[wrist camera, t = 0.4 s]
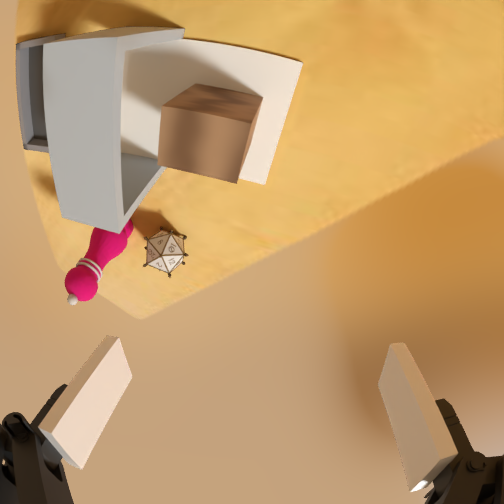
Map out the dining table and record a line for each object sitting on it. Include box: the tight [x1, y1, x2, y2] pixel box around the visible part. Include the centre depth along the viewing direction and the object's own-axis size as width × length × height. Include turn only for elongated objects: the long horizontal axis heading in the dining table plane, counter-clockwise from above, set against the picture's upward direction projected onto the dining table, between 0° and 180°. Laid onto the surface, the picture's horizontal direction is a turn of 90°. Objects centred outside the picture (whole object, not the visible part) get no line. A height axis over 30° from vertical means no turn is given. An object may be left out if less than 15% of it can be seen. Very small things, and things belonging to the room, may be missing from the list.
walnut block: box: [157, 83, 263, 184], centre depth 31 cm, size 9×7×11 cm
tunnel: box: [43, 27, 303, 234], centre depth 30 cm, size 26×22×16 cm
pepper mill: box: [65, 219, 133, 305], centre depth 45 cm, size 7×7×20 cm
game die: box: [143, 226, 188, 277], centre depth 50 cm, size 9×8×10 cm
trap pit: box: [16, 34, 65, 153], centre depth 32 cm, size 10×21×2 cm, turn 167°
